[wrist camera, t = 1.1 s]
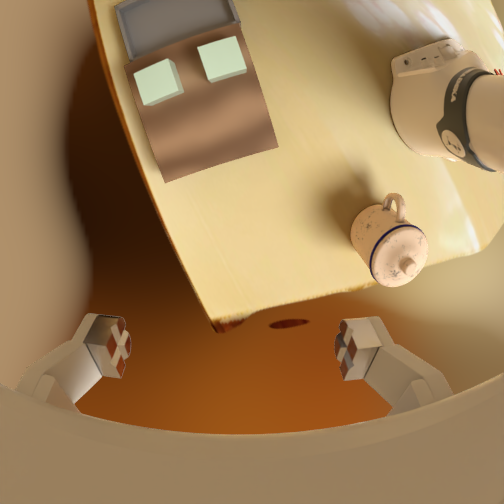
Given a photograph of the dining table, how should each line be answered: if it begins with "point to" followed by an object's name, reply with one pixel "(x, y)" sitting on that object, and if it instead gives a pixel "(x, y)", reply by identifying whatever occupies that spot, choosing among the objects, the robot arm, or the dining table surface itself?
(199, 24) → the charcoal tray
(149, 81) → the mint block
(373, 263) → the teacup with lid
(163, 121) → the walnut bench
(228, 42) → the mint block
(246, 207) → the dining table surface
